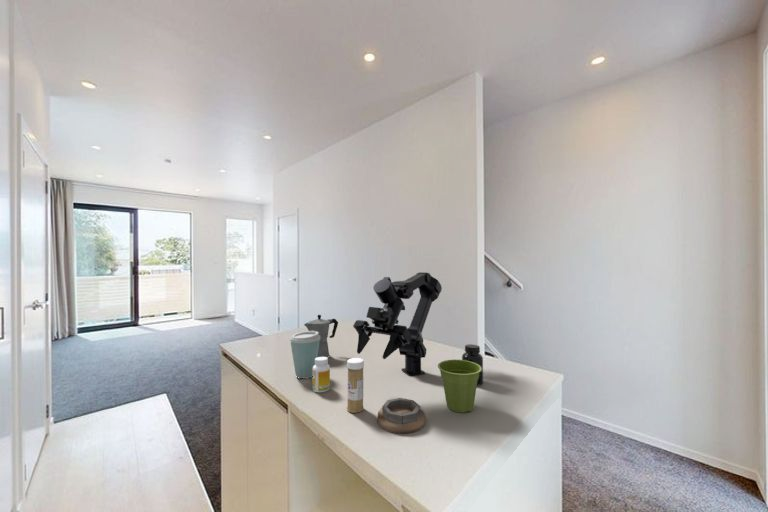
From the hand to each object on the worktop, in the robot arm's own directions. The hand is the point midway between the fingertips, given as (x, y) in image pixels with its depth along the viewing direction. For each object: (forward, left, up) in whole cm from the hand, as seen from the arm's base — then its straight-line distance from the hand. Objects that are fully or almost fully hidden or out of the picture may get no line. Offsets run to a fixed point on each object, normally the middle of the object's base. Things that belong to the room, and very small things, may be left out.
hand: (370, 355), depth 88 cm
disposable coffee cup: (-27, -15, -13) cm, 33 cm away
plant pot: (+14, +21, -13) cm, 29 cm away
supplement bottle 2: (+1, +36, -13) cm, 39 cm away
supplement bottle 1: (-13, -12, -13) cm, 22 cm away
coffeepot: (-47, -5, -13) cm, 49 cm away
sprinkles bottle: (+4, -6, -13) cm, 15 cm away
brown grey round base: (+14, +3, -13) cm, 19 cm away
